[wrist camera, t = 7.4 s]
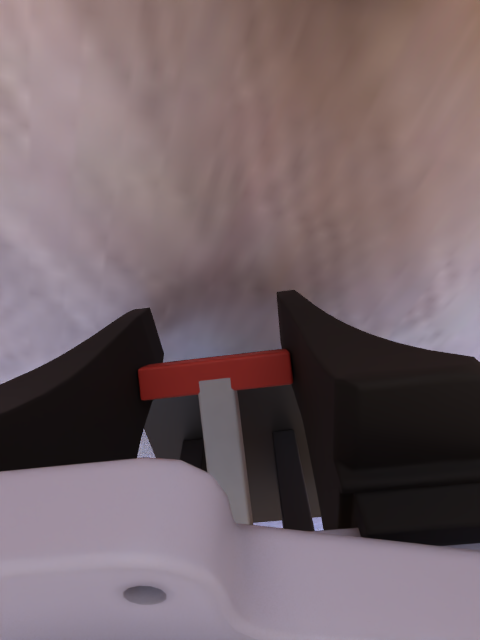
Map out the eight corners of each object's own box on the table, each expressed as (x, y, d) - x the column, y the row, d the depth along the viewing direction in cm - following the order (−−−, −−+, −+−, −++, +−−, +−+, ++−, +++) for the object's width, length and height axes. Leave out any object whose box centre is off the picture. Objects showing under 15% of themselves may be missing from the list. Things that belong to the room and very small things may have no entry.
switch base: (138, 378, 14) (10, 703, 6) (321, 357, 14) (447, 676, 6) (186, 507, 19) (151, 781, 11) (322, 495, 19) (389, 770, 11)
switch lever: (153, 361, 11) (126, 372, 9) (285, 346, 11) (292, 353, 9) (189, 658, 11) (170, 751, 9) (322, 649, 11) (340, 742, 9)
